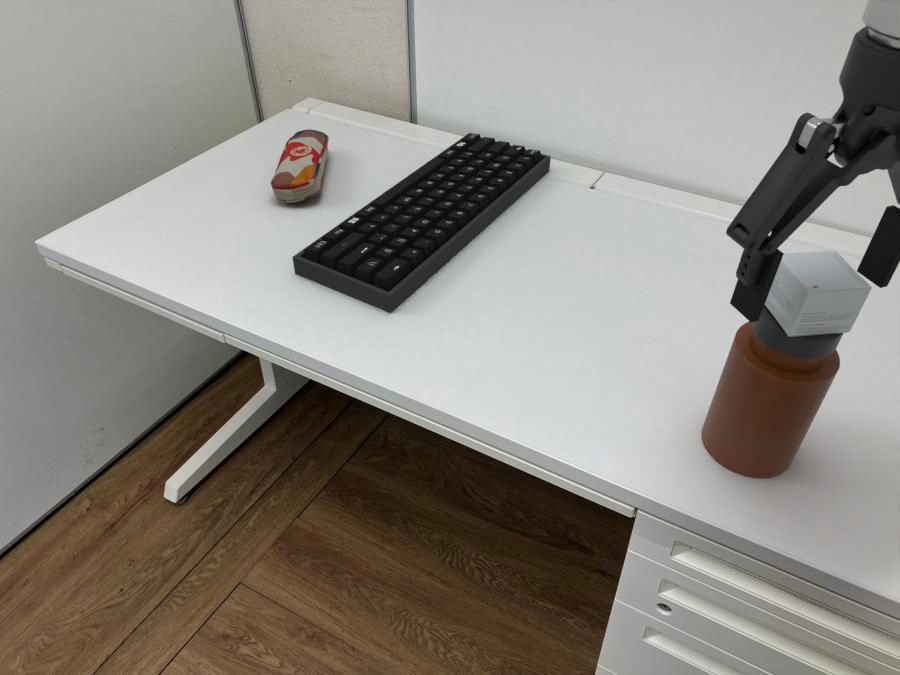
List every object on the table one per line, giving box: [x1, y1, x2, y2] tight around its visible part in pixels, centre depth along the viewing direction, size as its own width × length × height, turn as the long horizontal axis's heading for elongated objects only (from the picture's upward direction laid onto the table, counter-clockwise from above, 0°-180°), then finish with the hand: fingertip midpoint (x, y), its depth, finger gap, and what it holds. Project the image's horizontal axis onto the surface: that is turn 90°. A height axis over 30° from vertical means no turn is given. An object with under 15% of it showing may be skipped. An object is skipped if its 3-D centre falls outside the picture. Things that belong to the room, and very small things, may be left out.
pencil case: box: [270, 128, 330, 204], centre depth 113 cm, size 11×20×5 cm, turn 167°
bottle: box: [701, 305, 844, 479], centre depth 67 cm, size 9×9×17 cm
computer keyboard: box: [291, 132, 552, 314], centre depth 104 cm, size 45×16×4 cm, turn 148°
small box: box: [765, 250, 873, 337], centre depth 59 cm, size 6×6×5 cm
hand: (809, 295), depth 60 cm, fingers open, 13 cm apart
